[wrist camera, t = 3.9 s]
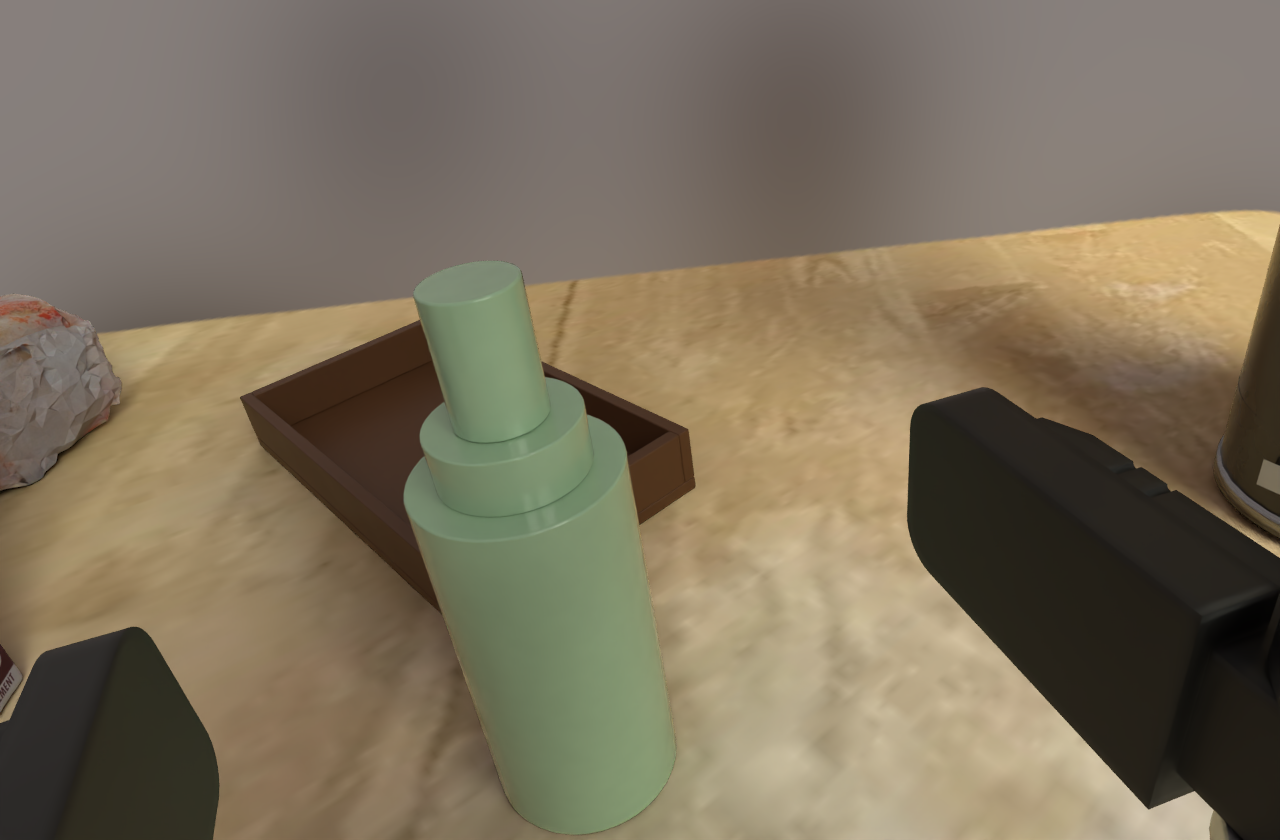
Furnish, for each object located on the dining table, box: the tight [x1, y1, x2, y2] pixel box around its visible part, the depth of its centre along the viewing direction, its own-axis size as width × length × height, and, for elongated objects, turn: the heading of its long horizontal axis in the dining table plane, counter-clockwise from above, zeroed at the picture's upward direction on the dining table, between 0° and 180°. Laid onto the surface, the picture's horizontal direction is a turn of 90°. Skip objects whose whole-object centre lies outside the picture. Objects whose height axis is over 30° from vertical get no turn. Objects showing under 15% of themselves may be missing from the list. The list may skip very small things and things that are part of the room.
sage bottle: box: [403, 261, 677, 835], centre depth 23 cm, size 6×6×16 cm
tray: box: [240, 320, 695, 614], centre depth 42 cm, size 12×22×3 cm, turn 42°
